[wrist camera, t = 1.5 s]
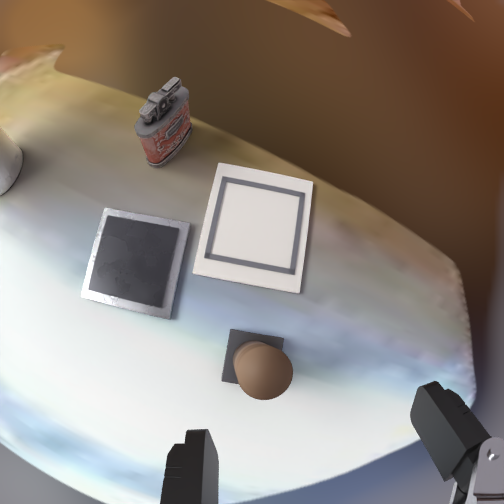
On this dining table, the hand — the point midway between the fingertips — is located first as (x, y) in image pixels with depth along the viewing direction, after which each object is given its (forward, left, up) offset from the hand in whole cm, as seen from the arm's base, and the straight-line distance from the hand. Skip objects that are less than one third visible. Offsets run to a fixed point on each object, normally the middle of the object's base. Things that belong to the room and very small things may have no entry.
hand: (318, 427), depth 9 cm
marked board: (-2, +15, -23) cm, 28 cm away
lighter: (-15, +24, -23) cm, 37 cm away
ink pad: (-15, +8, -23) cm, 29 cm away
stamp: (0, 0, -23) cm, 23 cm away
